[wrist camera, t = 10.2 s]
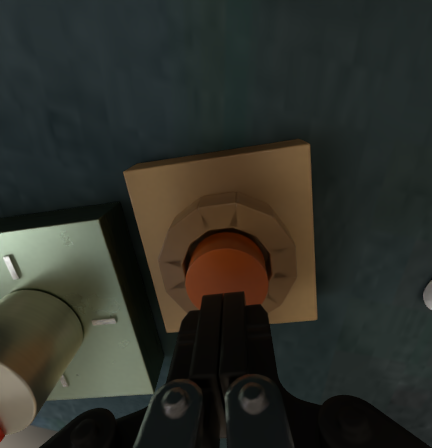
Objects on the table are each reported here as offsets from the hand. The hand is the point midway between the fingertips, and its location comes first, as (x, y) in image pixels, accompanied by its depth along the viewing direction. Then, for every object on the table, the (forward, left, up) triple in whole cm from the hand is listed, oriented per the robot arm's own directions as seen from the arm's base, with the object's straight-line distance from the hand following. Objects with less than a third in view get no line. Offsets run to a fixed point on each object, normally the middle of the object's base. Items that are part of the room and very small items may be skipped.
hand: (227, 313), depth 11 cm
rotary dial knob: (-12, -3, -4) cm, 13 cm away
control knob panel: (-12, -3, -7) cm, 14 cm away
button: (0, 0, -4) cm, 4 cm away
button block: (0, 0, -7) cm, 7 cm away
